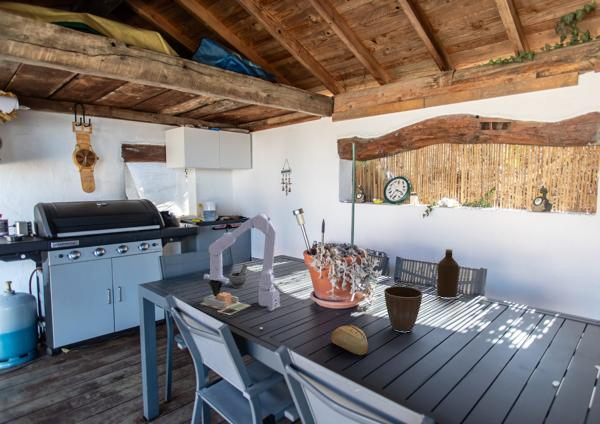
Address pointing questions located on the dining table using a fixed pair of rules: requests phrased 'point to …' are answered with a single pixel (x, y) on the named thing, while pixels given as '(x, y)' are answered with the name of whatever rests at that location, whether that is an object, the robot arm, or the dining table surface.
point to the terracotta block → (224, 297)
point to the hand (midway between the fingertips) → (216, 295)
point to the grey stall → (217, 303)
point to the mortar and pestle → (239, 277)
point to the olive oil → (447, 276)
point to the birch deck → (232, 305)
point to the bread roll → (350, 339)
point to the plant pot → (402, 306)
